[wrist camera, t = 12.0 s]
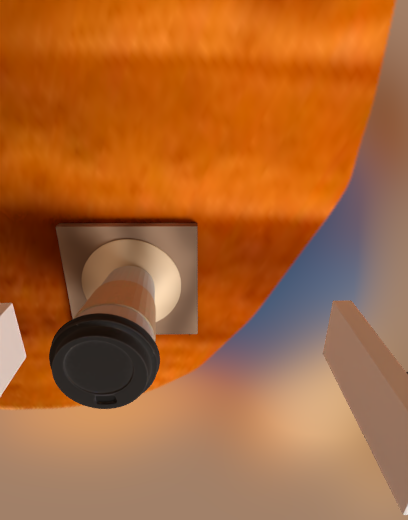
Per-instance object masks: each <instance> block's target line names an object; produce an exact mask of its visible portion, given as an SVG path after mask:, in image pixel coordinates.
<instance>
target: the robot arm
mask: <svg viewBox="0 0 408 520" xmlns="http://www.w3.org/2000/svg"><path fill="white" fill-rule="evenodd" d="M323 354H324V356H325V359H326V361H327V363H328V365H329V367H330V369H331V371H332V373H333V375H334V377H335V379H336V381H337V382H338V385H339V387H340V389H341V391H342V392H343V395H344V397H345V399H346V401H347V402H348V405H349V407H350V409H351V411H352V413H353V415H354V417H355V419H356V421H357V423H358V425H359V427H360V429H361V431H362V433H363V435H364V437H365V439H366V441H367V443H368V445H369V447H370V449H371V451H372V453H373V455H374V457H375V459H376V461H377V463H378V465H379V467H380V469H381V471H382V473H383V475H384V477H385V479H386V481H387V483H388V485H389V487H390V489H391V491H392V493H393V495H394V497H395V499H396V501H397V503H398V506H399V507H400V510H401V512H402V514H403V515H408V372H405V370H404V369H403V368H402V366H401V365H400V364H399V362H398V361H397V360H396V358H395V357H394V356H393V355H392V353H391V352H390V351H389V349H388V348H387V347H386V345H385V344H384V343H383V342H382V340H381V339H380V338H379V336H378V335H377V333H376V332H375V331H374V330H373V328H372V327H371V326H370V324H369V323H368V322H367V321H366V319H365V318H364V317H363V315H362V314H361V313H360V311H359V310H358V309H357V307H356V306H355V305H354V303H353V302H352V301H333V303H332V309H331V314H330V319H329V325H328V330H327V335H326V341H325V346H324V351H323ZM25 358H26V353H25V349H24V346H23V342H22V338H21V334H20V331H19V327H18V323H17V319H16V316H15V312H14V308H13V304H12V303H0V396H1V395H2V393H3V392H4V390H5V389H6V387H7V386H8V384H9V383H10V381H11V379H12V378H13V376H14V375H15V373H16V372H17V370H18V369H19V367H20V366H21V364H22V363H23V361H24V360H25Z"/></svg>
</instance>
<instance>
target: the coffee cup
mask: <svg viewBox="0 0 408 520" xmlns="http://www.w3.org/2000/svg"><path fill="white" fill-rule="evenodd" d="M155 330H156V307H155V286H154V281H153V279H152V277H151V276H150V274H149V273H148V272H147V271H146V270H144V269H142V268H140V267H137V266H122V267H119V268H117V269H115V270H113V271H112V272H111V273H110V274H109V276H108V277H107V278H106V279H105V281H104V282H103V283H102V285H101V286H99V287H98V288H97V289H96V290H95V291H94V293H93V294H92V295H91V296H90V298H89V299H88V300H87V302H86V303H85V304H84V305H83V307H82V308H81V309H80V311H79V312H78V313H77V314H76V316H75V317H74V319H72V320H71V321H69V322H67V323H66V324H65V325H63V326H62V327H61V328H60V329H59V330H58V332H57V333H56V335H55V336H54V339H53V341H52V345H51V349H50V354H49V361H50V366H51V369H52V374H53V378H54V380H55V382H56V384H57V386H58V387H59V389H60V390H61V391H62V392H63V393H64V394H65V395H66V396H68V397H69V398H70V399H72V400H74V401H75V402H77V403H79V404H82V405H85V406H88V407H92V408H99V409H111V408H117V407H121V406H124V405H127V404H129V403H131V402H133V401H134V400H135V399H137V398H138V397H139V396H140V395H141V394H142V393H143V392H145V391H146V390H147V389H148V388H149V387H150V385H151V384H152V383H153V381H154V379H155V377H156V374H157V372H158V369H159V364H160V356H159V351H158V348H157V345H156V343H155Z"/></svg>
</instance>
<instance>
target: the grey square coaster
mask: <svg viewBox="0 0 408 520" xmlns="http://www.w3.org/2000/svg"><path fill="white" fill-rule="evenodd" d="M56 232H57V237H58V243H59V248H60V254H61V259H62V264H63V270H64V275H65V281H66V286H67V291H68V297H69V302H70V308H71V313H72V318H73V319H74V317H75V316H76V314H77V313H78V312H79V311H80V309H81V308H82V307H83V305H84V304H85V303H86V302H87V300H88V299H89V298H90V296H91V295H92V294H93V293H94V291H95V290H96V289H97V288H98V287H99V286H101V285H102V283H103V282H104V281H105V279H106V278H107V277H108V276H109V274H110V273H111V272H112V271H113V270H115V269H117V268H119V267H122V266H137V267H140V268H142V269H144V270H146V271H147V272H148V273H149V274H150V276H151V277H152V279H153V281H154V286H155V307H156V330H155V334H198V293H197V223H59V224H58V225H57V226H56Z"/></svg>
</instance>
